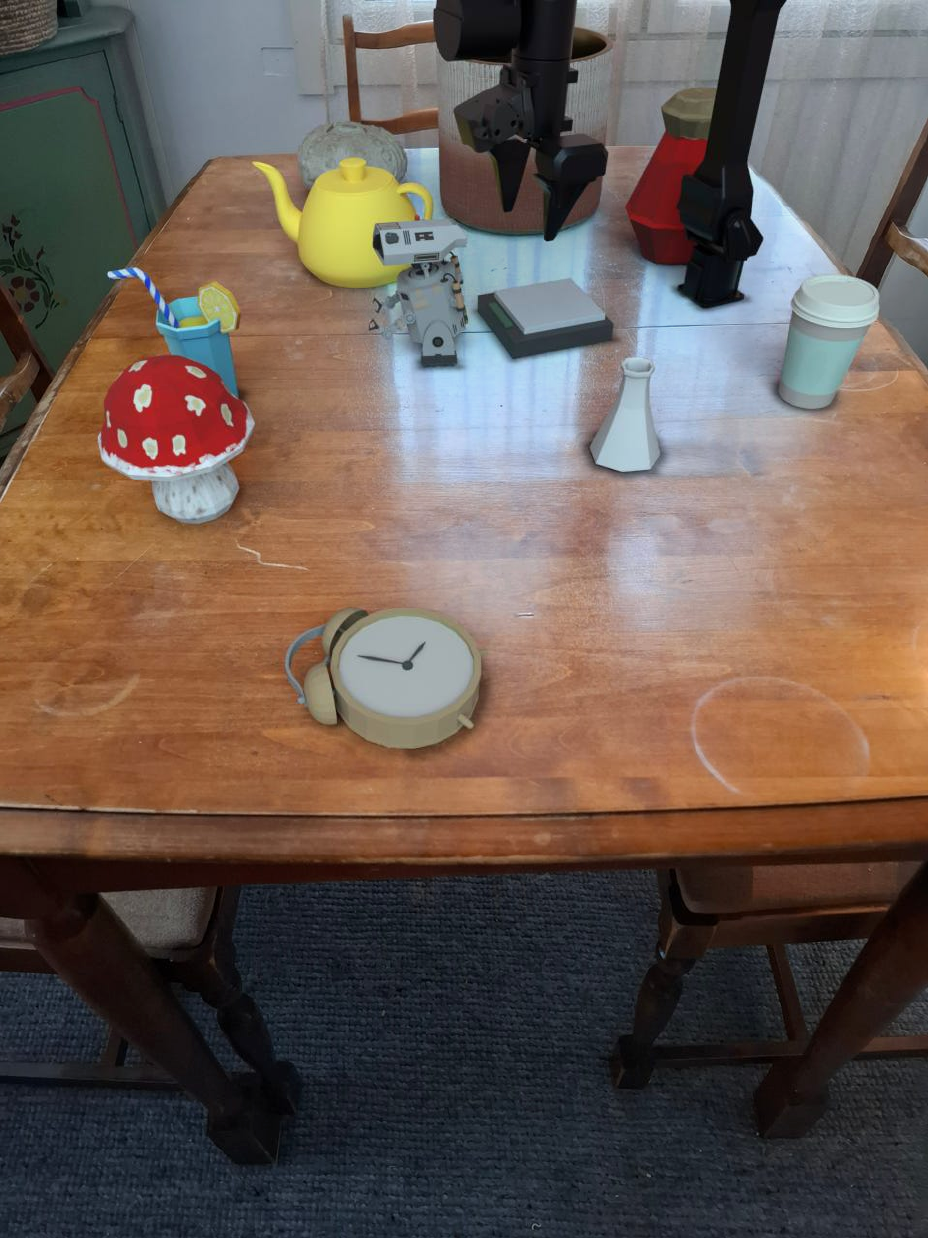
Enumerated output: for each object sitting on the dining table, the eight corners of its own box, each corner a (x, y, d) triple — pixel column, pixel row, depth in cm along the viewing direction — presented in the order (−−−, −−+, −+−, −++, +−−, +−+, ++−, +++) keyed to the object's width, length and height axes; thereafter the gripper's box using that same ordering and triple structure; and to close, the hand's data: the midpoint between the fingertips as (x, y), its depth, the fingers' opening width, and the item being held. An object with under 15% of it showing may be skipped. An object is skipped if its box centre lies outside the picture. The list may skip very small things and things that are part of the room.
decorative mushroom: (232, 445, 85) (194, 308, 74) (299, 509, 77) (268, 368, 66) (105, 498, 79) (43, 358, 68) (164, 573, 71) (105, 429, 60)
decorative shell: (387, 168, 141) (382, 103, 134) (425, 202, 130) (421, 133, 123) (290, 185, 137) (279, 118, 129) (320, 221, 126) (310, 151, 118)
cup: (136, 416, 89) (87, 282, 78) (165, 379, 94) (123, 249, 83) (256, 425, 87) (223, 290, 76) (279, 388, 92) (251, 256, 81)
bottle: (698, 228, 121) (727, 72, 107) (746, 263, 112) (785, 99, 98) (603, 243, 118) (620, 85, 103) (645, 281, 109) (671, 114, 95)
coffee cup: (846, 381, 91) (884, 277, 82) (844, 421, 85) (885, 314, 77) (768, 370, 93) (798, 266, 84) (762, 408, 87) (793, 302, 79)
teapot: (253, 289, 110) (230, 181, 100) (289, 237, 122) (271, 136, 112) (432, 296, 107) (427, 187, 97) (450, 242, 119) (448, 140, 109)
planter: (552, 254, 116) (564, 74, 100) (409, 220, 125) (398, 51, 109) (625, 197, 130) (645, 32, 114) (491, 171, 140) (493, 15, 124)
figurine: (376, 333, 101) (363, 207, 90) (467, 330, 101) (465, 204, 90) (373, 370, 95) (358, 240, 84) (470, 367, 95) (468, 236, 84)
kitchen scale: (569, 295, 107) (571, 273, 105) (611, 340, 98) (614, 316, 96) (477, 311, 104) (477, 288, 102) (513, 358, 96) (513, 335, 94)
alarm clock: (473, 738, 55) (261, 689, 55) (461, 774, 59) (263, 728, 59) (495, 620, 63) (309, 577, 62) (484, 659, 66) (308, 618, 66)
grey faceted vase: (658, 477, 79) (676, 388, 72) (585, 470, 80) (596, 381, 73) (661, 436, 84) (678, 348, 77) (592, 429, 85) (602, 342, 78)
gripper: (424, 39, 79) (425, 206, 91) (515, 83, 68) (503, 269, 79) (521, 33, 83) (510, 194, 94) (623, 74, 72) (597, 252, 83)
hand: (527, 225), depth 88 cm, fingers open, 9 cm apart
